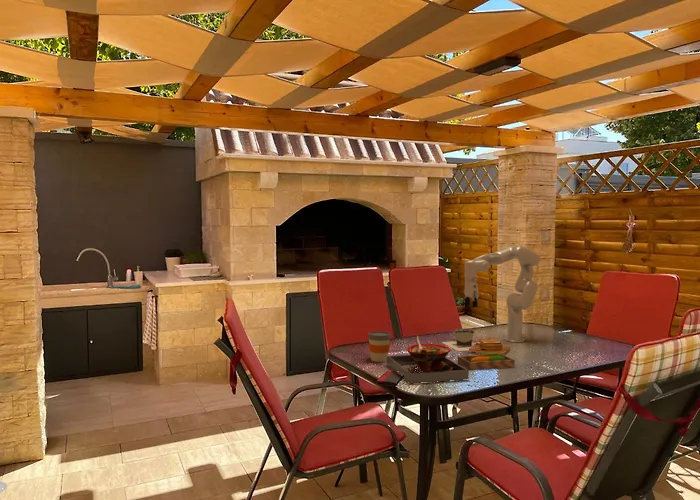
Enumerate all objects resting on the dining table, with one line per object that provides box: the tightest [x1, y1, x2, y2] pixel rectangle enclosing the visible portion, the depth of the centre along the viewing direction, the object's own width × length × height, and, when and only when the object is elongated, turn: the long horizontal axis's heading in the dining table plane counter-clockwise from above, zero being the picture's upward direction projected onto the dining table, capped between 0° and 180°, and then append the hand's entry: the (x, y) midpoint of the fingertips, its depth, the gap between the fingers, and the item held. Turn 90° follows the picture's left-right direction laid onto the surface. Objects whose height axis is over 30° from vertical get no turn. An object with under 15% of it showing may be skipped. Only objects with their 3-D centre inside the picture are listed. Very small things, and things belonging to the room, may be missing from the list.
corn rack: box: [457, 353, 516, 371], centre depth 296 cm, size 27×14×4 cm, turn 105°
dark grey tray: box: [386, 354, 470, 384], centre depth 280 cm, size 31×35×5 cm
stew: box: [406, 335, 453, 373], centre depth 285 cm, size 28×24×16 cm
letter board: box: [441, 341, 476, 353], centre depth 341 cm, size 20×24×1 cm
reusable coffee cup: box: [367, 330, 391, 363], centre depth 305 cm, size 12×13×15 cm
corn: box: [471, 351, 505, 362], centre depth 294 cm, size 7×8×20 cm
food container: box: [454, 328, 475, 346], centre depth 342 cm, size 12×6×10 cm, turn 91°
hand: (471, 306), depth 346 cm, fingers open, 9 cm apart
